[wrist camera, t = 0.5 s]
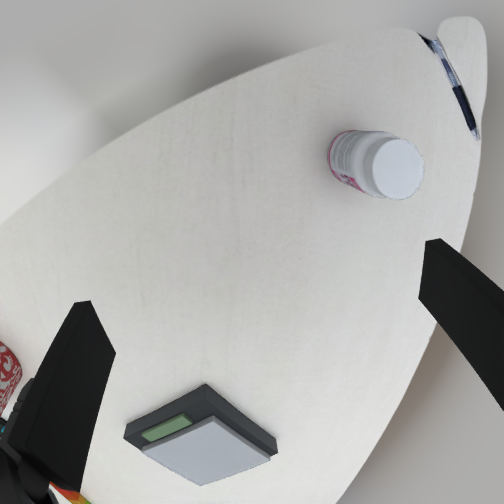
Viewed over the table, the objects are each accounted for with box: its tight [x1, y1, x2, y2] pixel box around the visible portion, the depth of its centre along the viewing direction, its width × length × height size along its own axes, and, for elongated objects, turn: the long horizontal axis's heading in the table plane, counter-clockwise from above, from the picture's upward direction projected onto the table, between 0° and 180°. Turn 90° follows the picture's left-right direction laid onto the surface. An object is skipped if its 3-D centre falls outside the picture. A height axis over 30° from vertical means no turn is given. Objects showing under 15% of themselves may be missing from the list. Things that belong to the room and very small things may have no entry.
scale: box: [123, 384, 278, 486], centre depth 35 cm, size 14×14×4 cm
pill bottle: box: [328, 130, 424, 200], centre depth 22 cm, size 5×5×8 cm
